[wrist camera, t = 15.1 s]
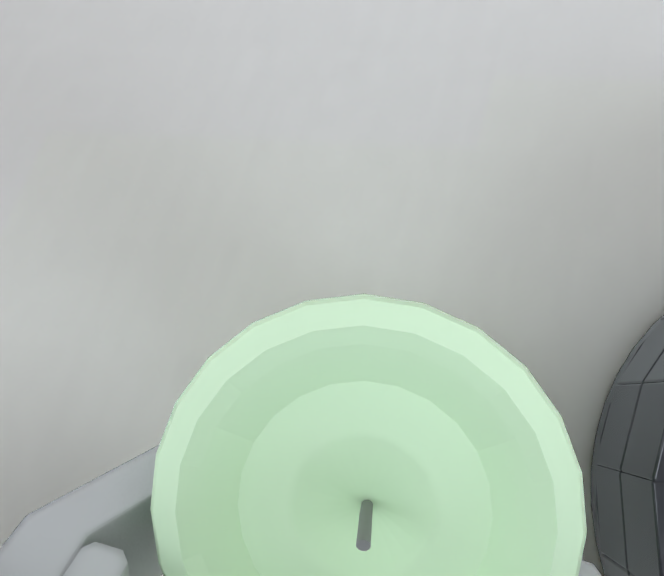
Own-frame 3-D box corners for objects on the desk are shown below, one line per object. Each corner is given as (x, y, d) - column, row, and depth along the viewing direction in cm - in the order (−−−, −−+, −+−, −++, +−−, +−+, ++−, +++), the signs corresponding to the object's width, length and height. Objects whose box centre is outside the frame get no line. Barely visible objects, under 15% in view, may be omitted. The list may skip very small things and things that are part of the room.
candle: (478, 573, 13) (633, 853, 5) (264, 560, 14) (92, 799, 5) (475, 355, 14) (602, 296, 6) (275, 350, 14) (142, 288, 6)
